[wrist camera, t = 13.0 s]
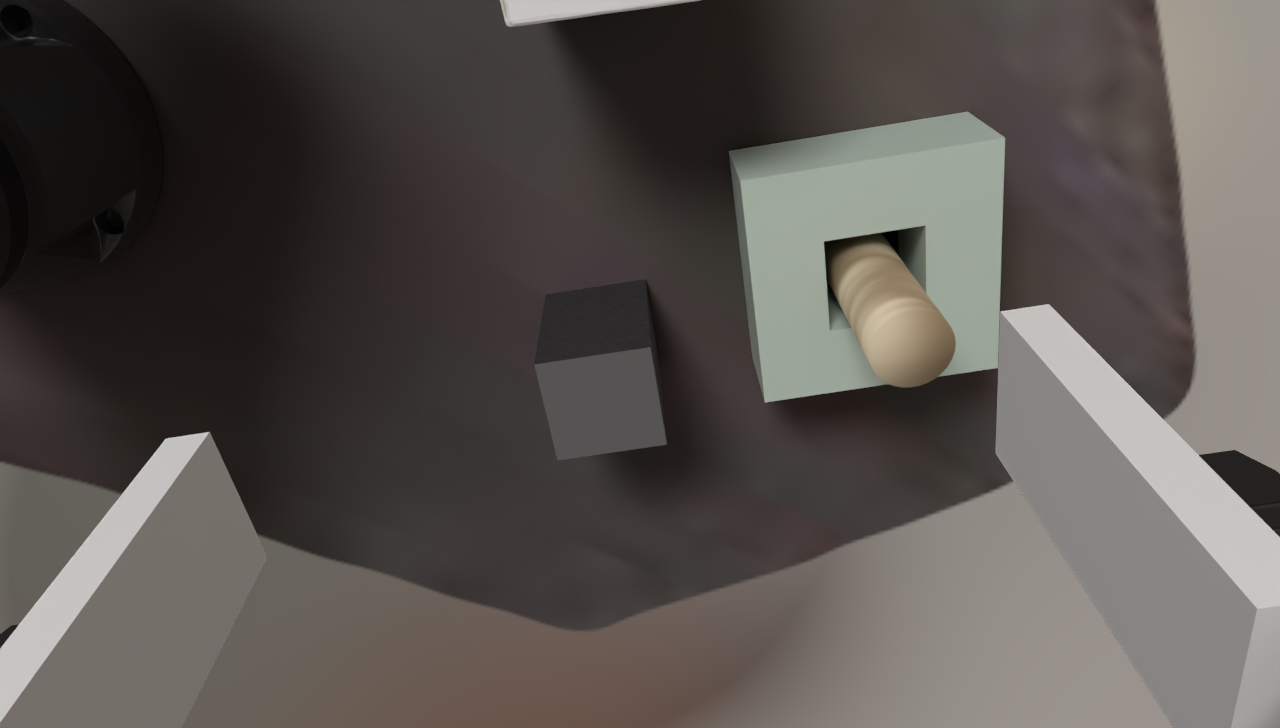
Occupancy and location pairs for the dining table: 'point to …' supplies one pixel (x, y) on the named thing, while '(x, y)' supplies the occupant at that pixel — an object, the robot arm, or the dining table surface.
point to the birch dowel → (888, 311)
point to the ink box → (570, 9)
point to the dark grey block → (600, 371)
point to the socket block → (860, 205)
